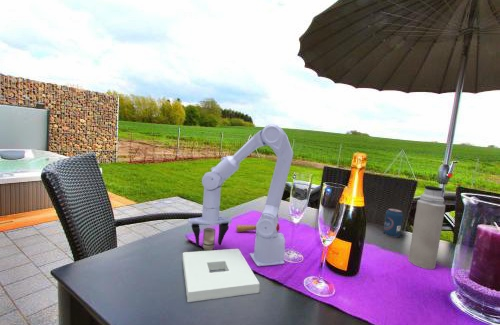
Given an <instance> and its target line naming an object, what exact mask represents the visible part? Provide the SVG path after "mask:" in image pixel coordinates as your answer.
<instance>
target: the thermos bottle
mask: <svg viewBox="0 0 500 325" xmlns="http://www.w3.org/2000/svg"><path fill="white" fill-rule="evenodd" d="M442 193H443V188H441V187H438V186H433V185H424V190H423V193H421V194H420V196H419V199H418V200H417V202H416V209H415V214H414V221H413V227H412V234H411V241H410V245H409V246H410V247H409V252H408V262H410V264H412V265H415V266H416V267H419V268H422V269H426V270H434V269H435V268H436V266H437V265H436V264H437V259H438V252H439V247H440V241H441V235H442V231H443V230H442V229H443V223H444V217H445V212H446V204H445V203H444V202H445V198H444V197H443V196H442V195H443V194H442Z"/></svg>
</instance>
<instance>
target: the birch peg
mask: <svg viewBox="0 0 500 325" xmlns="http://www.w3.org/2000/svg"><path fill="white" fill-rule="evenodd" d="M202 235H203V236H202V237H203V238H202V248H203V251H212V250H213V249H214V247H215V243H216V242H215V240H216V229H215V228H213V227H205V228H204V229H203V234H202Z"/></svg>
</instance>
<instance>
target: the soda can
mask: <svg viewBox="0 0 500 325" xmlns="http://www.w3.org/2000/svg"><path fill="white" fill-rule="evenodd" d="M403 219H404V214H403V210H401V209H398V208H391V207H390V208H388V209H387V210H386V212H385V218H384V225H383V234H384V235H385V236H387V237H391V238H399V237H400V236H401V232H402V227H403Z"/></svg>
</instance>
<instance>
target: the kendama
mask: <svg viewBox="0 0 500 325" xmlns="http://www.w3.org/2000/svg"><path fill="white" fill-rule="evenodd" d="M257 222H258V220H257ZM257 222H256V223H257ZM255 230H256V224H236V232H237V233H242V232H248V231H249V232H250V231H255ZM276 230H277V232H278V233H279V231H280V224H279V223H278V224H277V227H276Z"/></svg>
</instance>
